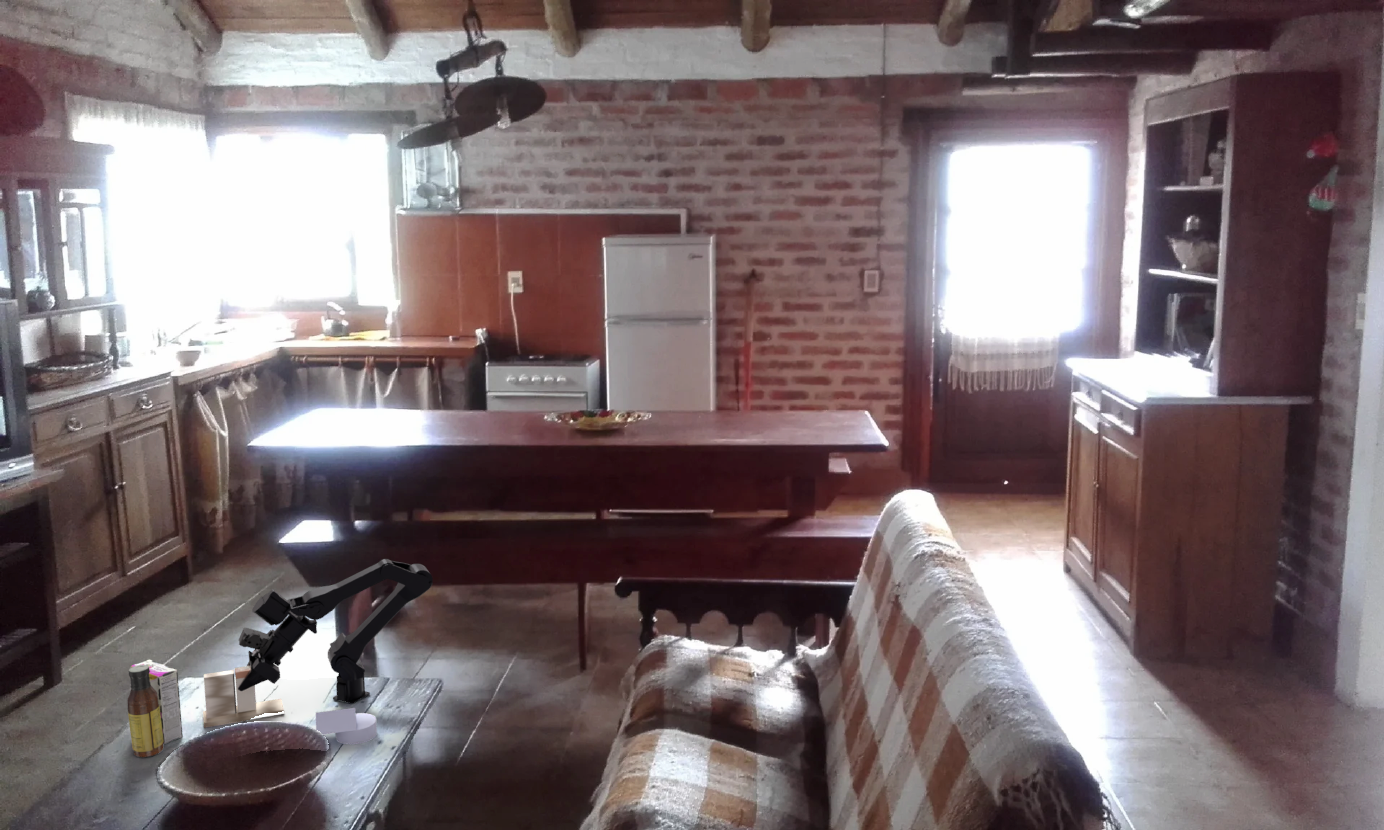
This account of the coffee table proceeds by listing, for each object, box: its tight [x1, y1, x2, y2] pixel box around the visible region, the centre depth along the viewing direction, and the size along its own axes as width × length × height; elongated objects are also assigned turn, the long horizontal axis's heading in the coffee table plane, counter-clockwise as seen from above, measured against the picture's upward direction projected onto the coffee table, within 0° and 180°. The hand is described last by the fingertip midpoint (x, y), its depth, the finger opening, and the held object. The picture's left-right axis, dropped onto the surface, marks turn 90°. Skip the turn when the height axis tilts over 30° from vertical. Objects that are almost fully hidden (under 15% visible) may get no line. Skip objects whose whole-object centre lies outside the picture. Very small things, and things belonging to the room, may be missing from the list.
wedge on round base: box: [315, 707, 378, 745], centre depth 250 cm, size 9×7×13 cm
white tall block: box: [234, 665, 257, 713], centre depth 260 cm, size 4×3×10 cm
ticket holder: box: [202, 669, 285, 729], centre depth 260 cm, size 18×7×11 cm, turn 115°
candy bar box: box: [129, 659, 184, 745], centre depth 249 cm, size 11×5×16 cm, turn 58°
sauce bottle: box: [127, 665, 164, 758], centre depth 240 cm, size 6×6×20 cm
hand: (239, 687), depth 259 cm, fingers closed on white tall block, 3 cm apart
